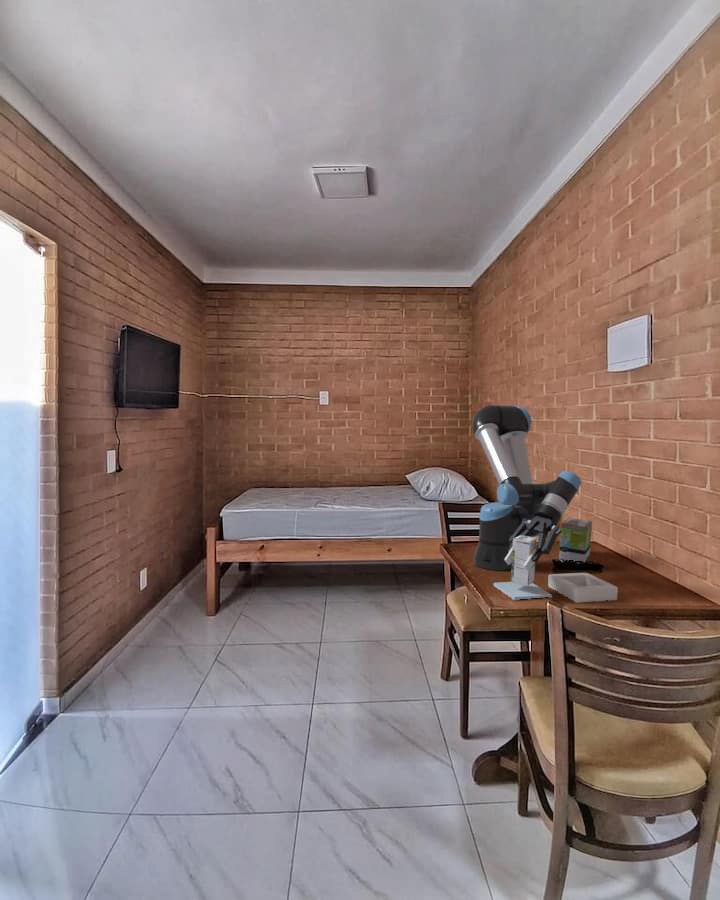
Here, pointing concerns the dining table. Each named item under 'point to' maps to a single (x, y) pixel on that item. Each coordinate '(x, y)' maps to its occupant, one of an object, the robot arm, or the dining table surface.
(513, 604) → the dining table surface
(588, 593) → the white tray
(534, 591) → the board
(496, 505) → the robot arm
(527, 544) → the syrup box
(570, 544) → the tea box
